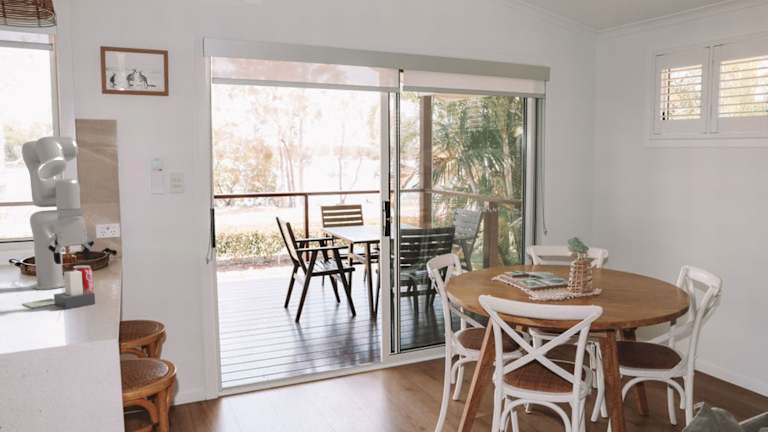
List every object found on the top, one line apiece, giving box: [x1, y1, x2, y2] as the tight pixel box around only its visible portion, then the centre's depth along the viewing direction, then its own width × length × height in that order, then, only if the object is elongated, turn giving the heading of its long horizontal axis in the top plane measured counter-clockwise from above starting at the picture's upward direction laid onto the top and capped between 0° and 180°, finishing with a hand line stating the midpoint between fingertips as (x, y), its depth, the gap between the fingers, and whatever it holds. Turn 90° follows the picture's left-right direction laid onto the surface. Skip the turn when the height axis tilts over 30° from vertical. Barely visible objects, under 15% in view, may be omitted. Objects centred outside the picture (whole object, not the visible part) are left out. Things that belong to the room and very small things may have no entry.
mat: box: [22, 298, 55, 309], centre depth 221 cm, size 10×10×1 cm
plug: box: [63, 270, 83, 296], centre depth 219 cm, size 5×4×12 cm
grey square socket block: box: [53, 290, 96, 310], centre depth 219 cm, size 10×10×4 cm
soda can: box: [71, 264, 94, 293], centre depth 230 cm, size 7×7×12 cm
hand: (72, 261), depth 218 cm, fingers open, 9 cm apart
